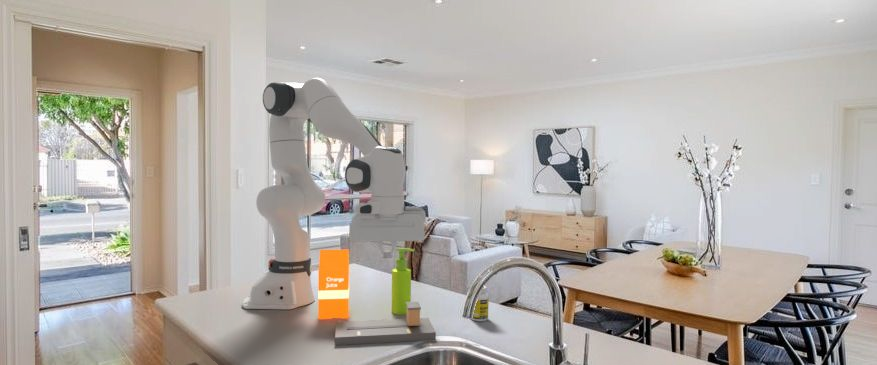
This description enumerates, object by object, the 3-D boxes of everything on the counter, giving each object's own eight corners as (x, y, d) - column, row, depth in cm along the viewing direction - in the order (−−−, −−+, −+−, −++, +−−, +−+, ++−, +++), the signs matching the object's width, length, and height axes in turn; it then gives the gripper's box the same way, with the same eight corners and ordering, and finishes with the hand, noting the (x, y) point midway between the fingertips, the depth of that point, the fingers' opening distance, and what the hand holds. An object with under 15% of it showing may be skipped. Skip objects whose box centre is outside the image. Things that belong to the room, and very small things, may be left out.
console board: (334, 345, 123) (335, 336, 122) (336, 329, 134) (336, 321, 134) (435, 339, 127) (435, 331, 127) (428, 324, 139) (428, 317, 139)
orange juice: (348, 318, 144) (348, 251, 143) (317, 319, 142) (318, 252, 142) (349, 310, 151) (349, 247, 151) (320, 311, 150) (320, 247, 149)
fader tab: (407, 327, 129) (408, 307, 129) (405, 321, 134) (405, 302, 134) (420, 327, 130) (420, 307, 130) (417, 320, 135) (417, 301, 135)
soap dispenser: (410, 315, 147) (411, 250, 146) (389, 313, 149) (389, 249, 148) (415, 309, 153) (416, 247, 152) (394, 308, 154) (395, 246, 153)
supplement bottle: (480, 323, 141) (481, 290, 141) (466, 318, 145) (467, 286, 144) (491, 318, 145) (492, 286, 145) (477, 314, 149) (478, 283, 148)
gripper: (424, 205, 135) (423, 254, 135) (349, 205, 131) (349, 255, 132) (427, 207, 128) (426, 259, 129) (349, 207, 125) (348, 260, 125)
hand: (386, 257), depth 130 cm, fingers closed
